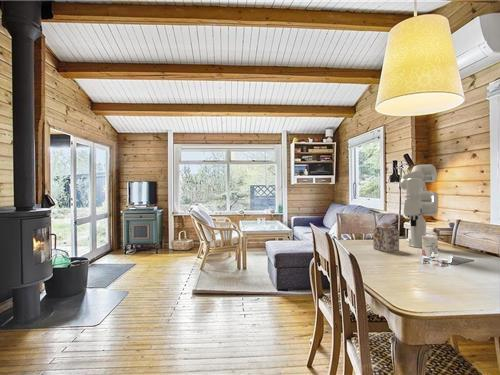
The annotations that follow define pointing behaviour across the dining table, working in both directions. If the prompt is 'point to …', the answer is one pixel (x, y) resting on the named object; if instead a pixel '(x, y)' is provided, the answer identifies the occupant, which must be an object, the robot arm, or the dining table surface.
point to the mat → (459, 260)
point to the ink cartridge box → (429, 244)
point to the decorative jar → (386, 238)
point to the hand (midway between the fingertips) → (413, 226)
